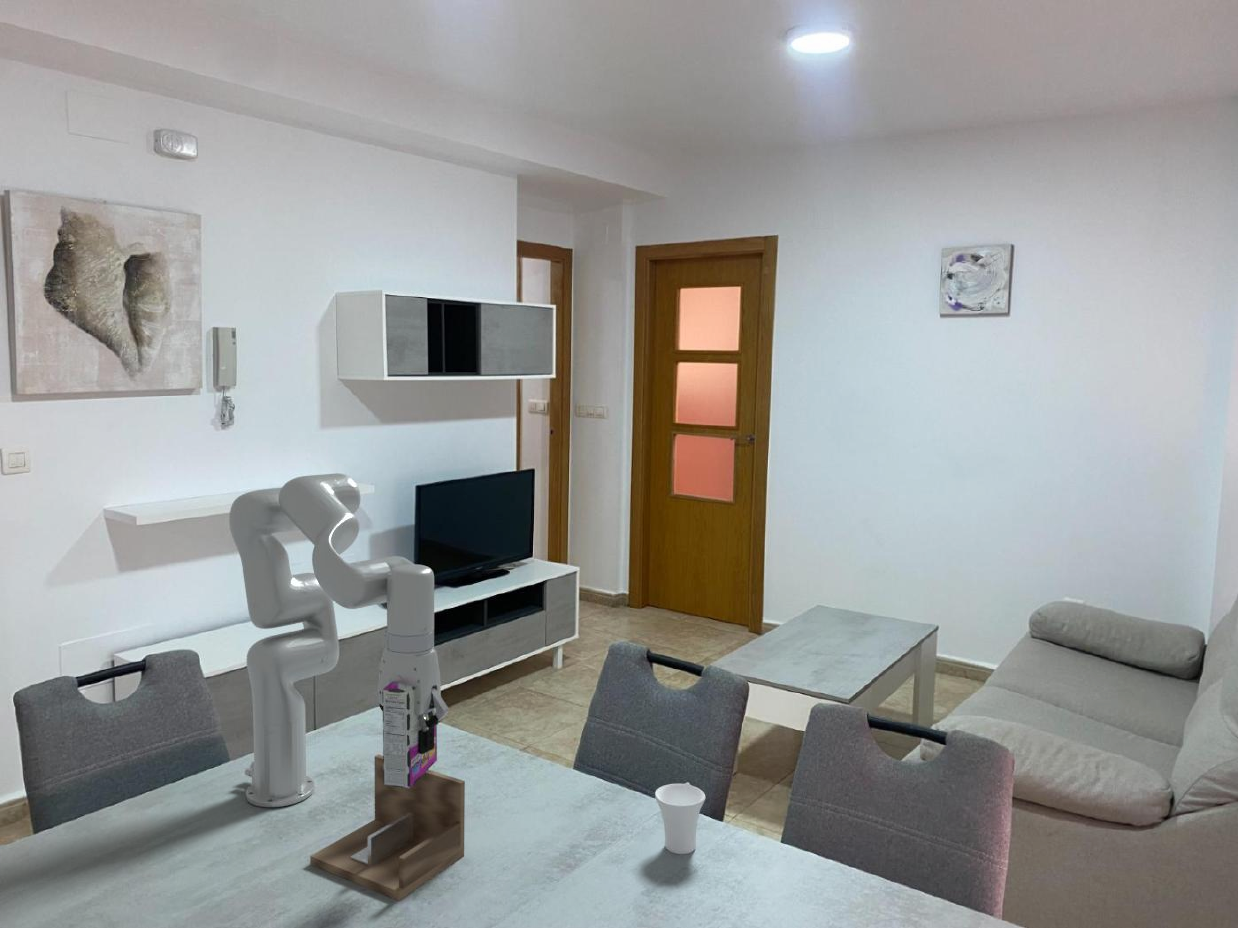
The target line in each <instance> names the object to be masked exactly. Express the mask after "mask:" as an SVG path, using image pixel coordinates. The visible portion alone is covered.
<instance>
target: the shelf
mask: <svg viewBox="0 0 1238 928" xmlns="http://www.w3.org/2000/svg"><path fill="white" fill-rule="evenodd" d="M383 777H384V775H383V754H382V755H381V754H376V755H375V756H374V819H373V820H371V821H369V822H368V823H366V824H364V825H362V826H361V827H359V828H358V829H355V830H354V831H352V832H350V833H349V834H347V835H345V836H343V837H341V838H340V839H338V840H335V841H334V842H333V843H331V844H329V845H327V846H325V847H324V848H322V849H320V850H319V851H317V852H315V853H313V854H311V855H310V859H309V860H310V861H309V863H310V864H309V865H311V866H313V867H316V868H318V869H320V870H323V871H324V872H328V873H331V874H333V875H334V876H337V877H341V878H343V879H345V880H347V881H350V882H352V883H355V884H357V885H360V886H362V887H364V888H366V889H370V890H372V891H374V892H377V893H380V894H382V895H385V896H386V897H388V898H389V897H390V898H391V899H393V900H396V901H401V900H403V899H404V898H406V897H407V896H409V895H410V894H411V893H412V892H414V891H415V890H417V889H418V888H420V887H421V886H423V885H424V884H425V883H427V882H429V881H430V880H432V879H433V878H435V877H436V876H437V875H439V874H440V873H442V872H443V871H444V870H446V869H447V868H449V867H450V866H452V865H453V864H454V863H456V862H458V861H459V860H460V859H461V858H463V857H464V856H465V813H466V812H465V809H466V808H465V806H466V805H465V804H466V803H465V802H466V801H465V797H466V795H465V794H466V791H465V790H466V789H465V788H466V786H465V785H466V784H465V783H466V782H465V781H466V780H463V779H459V778H456V777H453V776H449V775H446V774H443V773H440V772H436V771H434V770H430V769H428V770H427V771H426V772H425V773H424V774H423V775H422V776H421V777H420V778H419V779H418V780H417V782H416V783H415V784H414V785H413V786H412V787H411V788H402V787H392V786H386V785H384V778H383ZM409 812H410V813H413V841H412V842H410V843H408V844H407V845H405V846H404V847H402V848H400V849H399V850H397V851H396V852H394V853H392V854H391V855H389V856H388V857H386V858H384V859H383V860H381V861H380V862H378V863H376V864H375V865H373V866H372V867H371V866H368V865H365V864H363V863H360V862H358V861H355V860H353V859H350V857H351V856H352V855H354V854H356V853H358V852H359V851H361V850H363V849H364V848H366V847H368V836H370V835H371V834H373V833H375V832H377V831H378V830H380V829H382V828H383V827H385V826H387V825H389V824H390V823H392V822H394V821H395V820H397V819H399V818H400V817H402V816H404V815H406V814H407V813H409Z"/></svg>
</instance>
